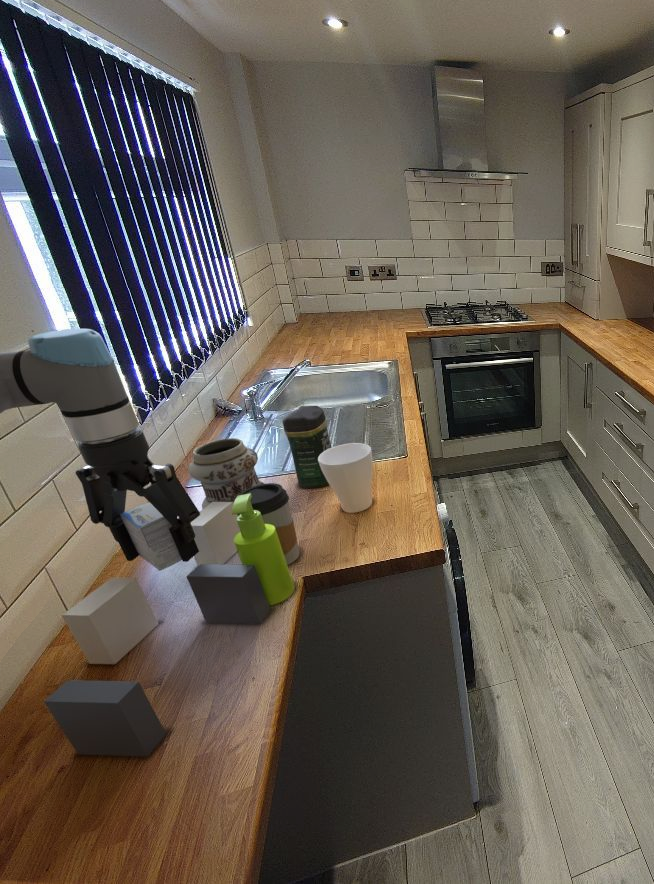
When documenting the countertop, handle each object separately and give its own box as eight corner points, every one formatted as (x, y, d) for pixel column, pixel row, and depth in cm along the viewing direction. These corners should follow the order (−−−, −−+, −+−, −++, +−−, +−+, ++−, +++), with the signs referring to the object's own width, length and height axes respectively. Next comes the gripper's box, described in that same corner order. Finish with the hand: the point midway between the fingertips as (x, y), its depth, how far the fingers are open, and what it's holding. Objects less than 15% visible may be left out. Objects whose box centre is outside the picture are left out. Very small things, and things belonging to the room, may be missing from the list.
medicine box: (190, 557, 88) (171, 514, 84) (158, 572, 84) (138, 527, 81) (169, 543, 92) (151, 500, 88) (138, 556, 88) (118, 513, 85)
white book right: (199, 570, 98) (180, 525, 94) (228, 544, 105) (212, 501, 101) (220, 570, 98) (202, 525, 94) (247, 544, 105) (232, 501, 101)
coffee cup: (298, 542, 105) (278, 477, 99) (312, 560, 100) (292, 493, 94) (251, 561, 100) (227, 493, 94) (263, 581, 95) (238, 511, 88)
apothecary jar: (243, 503, 119) (218, 431, 112) (289, 509, 117) (267, 435, 109) (196, 534, 108) (165, 457, 101) (246, 541, 106) (217, 462, 98)
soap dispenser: (253, 616, 87) (214, 514, 79) (259, 590, 93) (224, 492, 84) (293, 606, 89) (259, 505, 81) (296, 581, 95) (265, 485, 86)
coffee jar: (330, 489, 125) (311, 417, 117) (295, 491, 124) (273, 419, 116) (343, 469, 133) (327, 401, 126) (311, 471, 133) (292, 403, 125)
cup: (384, 491, 123) (373, 440, 117) (381, 515, 114) (369, 460, 108) (335, 499, 120) (321, 446, 115) (329, 524, 111) (313, 468, 105)
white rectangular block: (90, 666, 78) (61, 615, 74) (136, 626, 85) (111, 577, 81) (116, 667, 78) (88, 615, 74) (159, 626, 85) (136, 577, 81)
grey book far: (206, 625, 85) (185, 576, 81) (219, 611, 88) (200, 563, 84) (260, 626, 85) (242, 577, 81) (271, 612, 88) (254, 564, 83)
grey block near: (79, 757, 65) (43, 701, 61) (101, 734, 68) (67, 679, 64) (149, 759, 65) (117, 703, 61) (168, 736, 68) (139, 681, 63)
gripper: (197, 424, 81) (240, 543, 91) (64, 424, 82) (121, 542, 92) (158, 445, 75) (209, 571, 84) (14, 444, 75) (81, 569, 85)
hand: (163, 556), depth 88 cm, fingers closed on medicine box, 9 cm apart
